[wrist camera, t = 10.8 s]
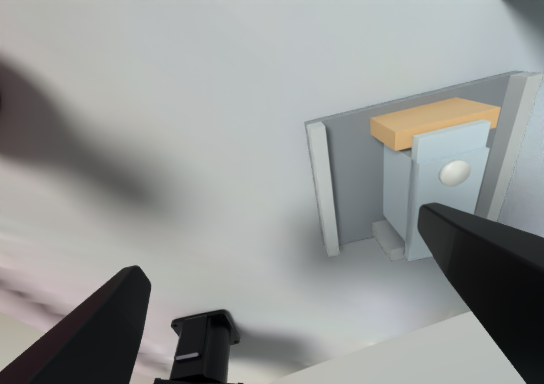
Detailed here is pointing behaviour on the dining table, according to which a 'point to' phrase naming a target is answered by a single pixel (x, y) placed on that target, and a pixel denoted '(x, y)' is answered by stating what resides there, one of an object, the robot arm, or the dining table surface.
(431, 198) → the light blue knobbed block
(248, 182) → the dining table surface
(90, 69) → the dining table surface
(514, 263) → the robot arm
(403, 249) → the mounting plate
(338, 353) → the dining table surface
